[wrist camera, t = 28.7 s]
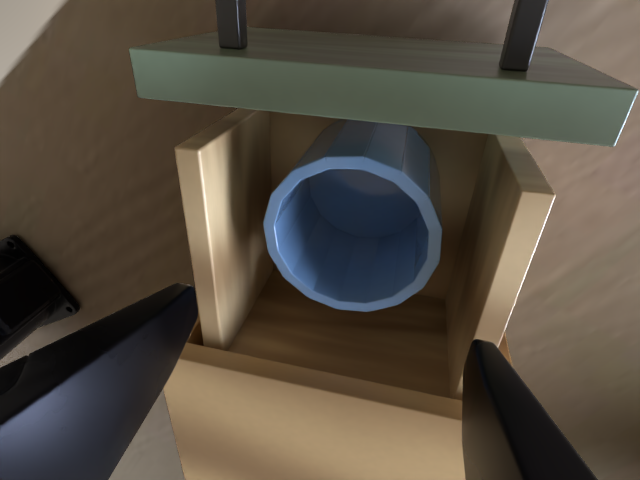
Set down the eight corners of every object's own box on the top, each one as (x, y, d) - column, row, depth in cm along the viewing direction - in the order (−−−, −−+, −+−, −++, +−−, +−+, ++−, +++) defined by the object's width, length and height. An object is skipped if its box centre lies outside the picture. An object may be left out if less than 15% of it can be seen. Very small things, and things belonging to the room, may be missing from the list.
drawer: (229, -206, 13) (45, -386, 7) (632, -220, 11) (891, -490, 5) (254, 265, 22) (187, 368, 16) (472, 302, 20) (490, 436, 14)
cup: (280, 146, 17) (232, 195, 13) (408, 87, 15) (400, 124, 11) (337, 253, 19) (312, 325, 15) (457, 216, 17) (466, 289, 13)
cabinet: (248, 229, 22) (153, 353, 15) (491, 267, 20) (528, 435, 12) (257, 384, 29) (195, 524, 21) (440, 425, 27) (445, 597, 19)
